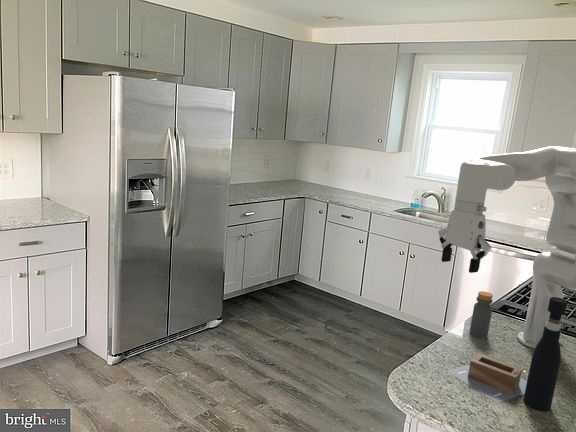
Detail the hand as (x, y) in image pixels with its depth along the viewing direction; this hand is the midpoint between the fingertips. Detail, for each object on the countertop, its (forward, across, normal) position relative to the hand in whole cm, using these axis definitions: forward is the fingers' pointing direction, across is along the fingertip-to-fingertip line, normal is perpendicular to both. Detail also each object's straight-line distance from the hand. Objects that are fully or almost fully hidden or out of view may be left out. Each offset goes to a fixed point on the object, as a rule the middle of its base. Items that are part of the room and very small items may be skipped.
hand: (459, 266), depth 139 cm
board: (+31, -12, -6) cm, 34 cm away
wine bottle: (+31, -25, -7) cm, 41 cm away
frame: (+30, -13, -6) cm, 33 cm away
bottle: (+31, +11, -30) cm, 45 cm away
